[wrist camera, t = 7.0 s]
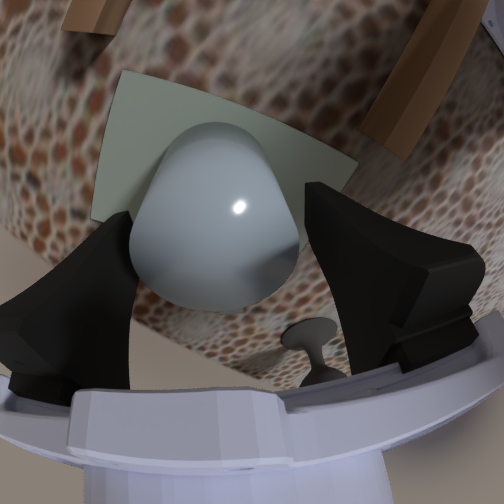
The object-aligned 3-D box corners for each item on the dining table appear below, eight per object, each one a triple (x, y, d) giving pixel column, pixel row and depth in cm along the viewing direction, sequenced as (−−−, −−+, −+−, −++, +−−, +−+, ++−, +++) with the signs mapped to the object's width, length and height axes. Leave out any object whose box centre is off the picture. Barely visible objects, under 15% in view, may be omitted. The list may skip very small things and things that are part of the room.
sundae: (350, 337, 24) (394, 484, 13) (283, 359, 25) (311, 507, 14) (342, 299, 20) (405, 490, 9) (260, 327, 21) (291, 520, 10)
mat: (357, 161, 13) (359, 163, 13) (285, 270, 17) (285, 272, 17) (124, 70, 9) (122, 70, 9) (91, 216, 13) (90, 218, 13)
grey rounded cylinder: (272, 239, 16) (295, 330, 11) (183, 251, 15) (174, 344, 11) (264, 115, 11) (300, 167, 6) (151, 133, 11) (104, 198, 6)
